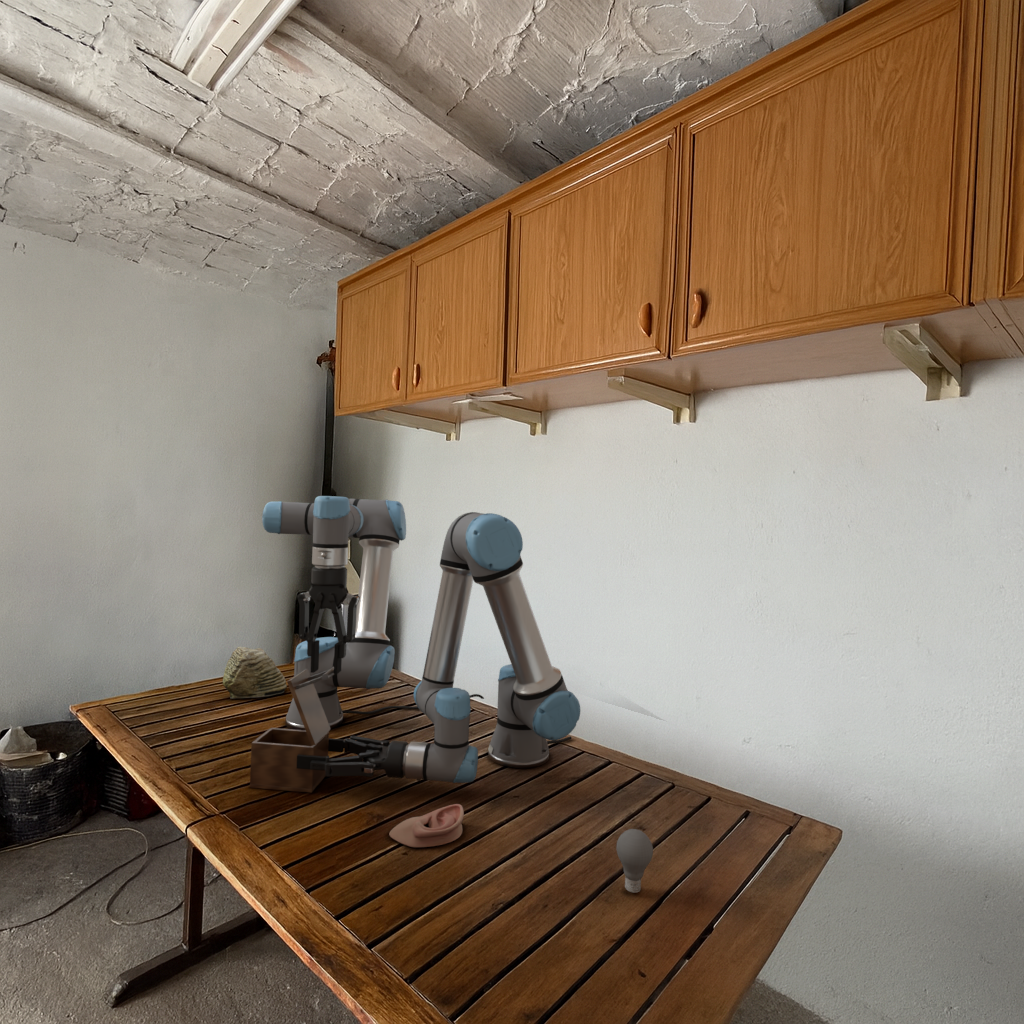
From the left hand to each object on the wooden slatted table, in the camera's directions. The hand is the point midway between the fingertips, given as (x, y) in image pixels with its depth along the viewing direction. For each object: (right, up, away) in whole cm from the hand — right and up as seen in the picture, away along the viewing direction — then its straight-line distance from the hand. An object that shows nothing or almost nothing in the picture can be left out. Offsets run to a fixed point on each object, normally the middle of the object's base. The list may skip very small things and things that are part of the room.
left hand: (325, 671), depth 140 cm
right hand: (-4, -18, 0) cm, 19 cm away
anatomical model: (+25, -26, -19) cm, 41 cm away
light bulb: (+61, -28, -34) cm, 75 cm away
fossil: (-40, -22, +58) cm, 74 cm away
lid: (-4, -8, 0) cm, 9 cm away
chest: (-8, -24, +1) cm, 26 cm away
